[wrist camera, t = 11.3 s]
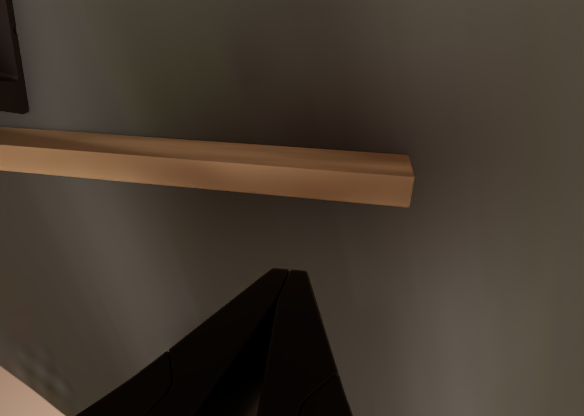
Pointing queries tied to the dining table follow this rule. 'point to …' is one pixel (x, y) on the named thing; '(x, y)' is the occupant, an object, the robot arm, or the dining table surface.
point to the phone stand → (10, 64)
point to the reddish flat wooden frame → (212, 165)
